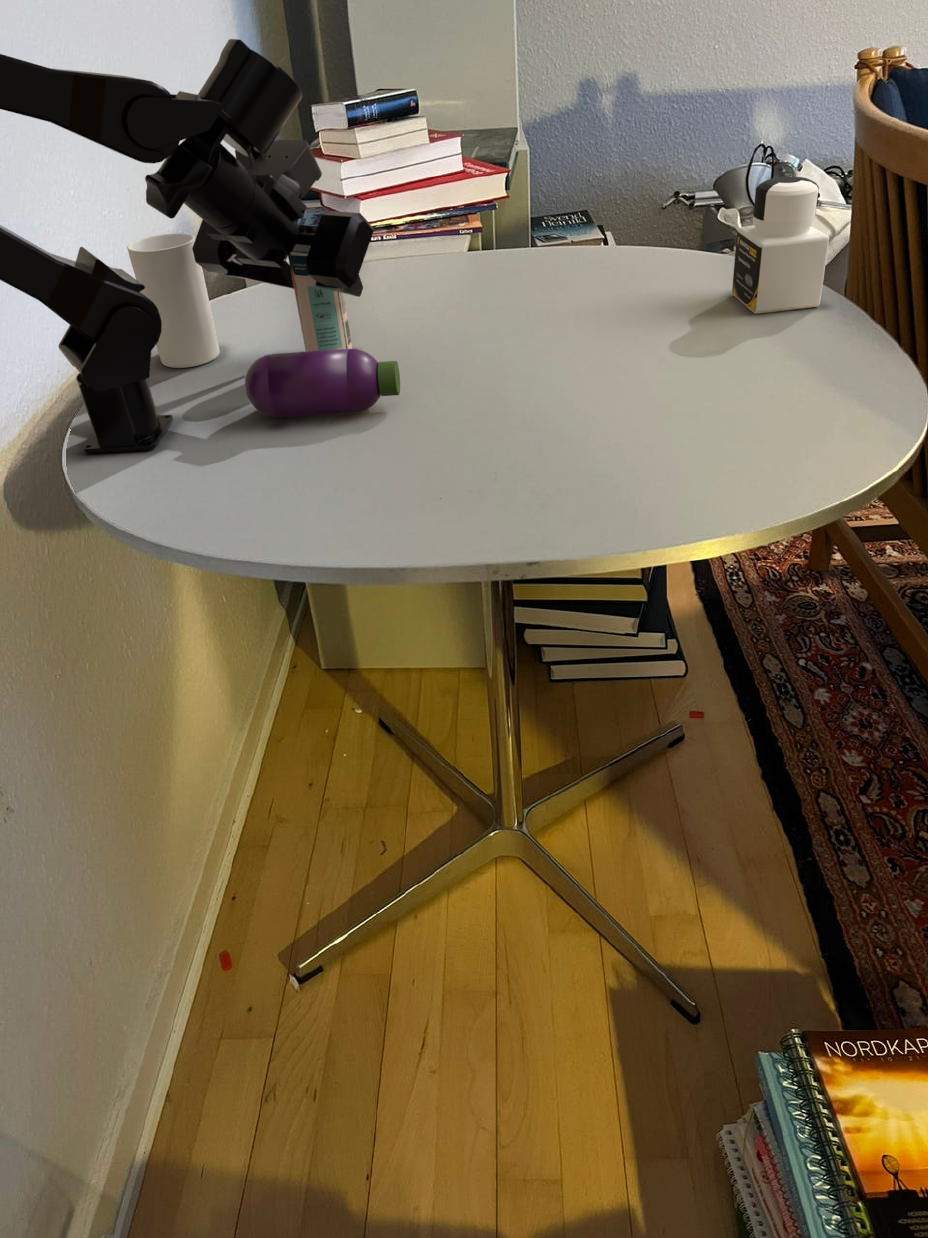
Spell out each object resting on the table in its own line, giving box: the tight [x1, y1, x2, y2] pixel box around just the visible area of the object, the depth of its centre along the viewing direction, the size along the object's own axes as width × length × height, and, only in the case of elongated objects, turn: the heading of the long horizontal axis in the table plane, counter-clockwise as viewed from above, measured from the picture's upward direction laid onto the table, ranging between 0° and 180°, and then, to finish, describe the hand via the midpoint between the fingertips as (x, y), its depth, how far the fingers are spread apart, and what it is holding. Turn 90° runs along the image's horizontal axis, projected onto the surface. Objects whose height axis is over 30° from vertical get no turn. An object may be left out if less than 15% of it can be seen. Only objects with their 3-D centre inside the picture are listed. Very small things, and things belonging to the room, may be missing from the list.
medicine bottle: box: [731, 176, 830, 315], centre depth 98 cm, size 7×7×12 cm
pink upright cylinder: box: [287, 252, 353, 352], centre depth 95 cm, size 5×5×12 cm
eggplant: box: [244, 348, 401, 418], centre depth 85 cm, size 6×14×6 cm, turn 88°
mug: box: [126, 232, 221, 369], centre depth 100 cm, size 10×7×12 cm, turn 5°
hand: (329, 288), depth 95 cm, fingers open, 8 cm apart
